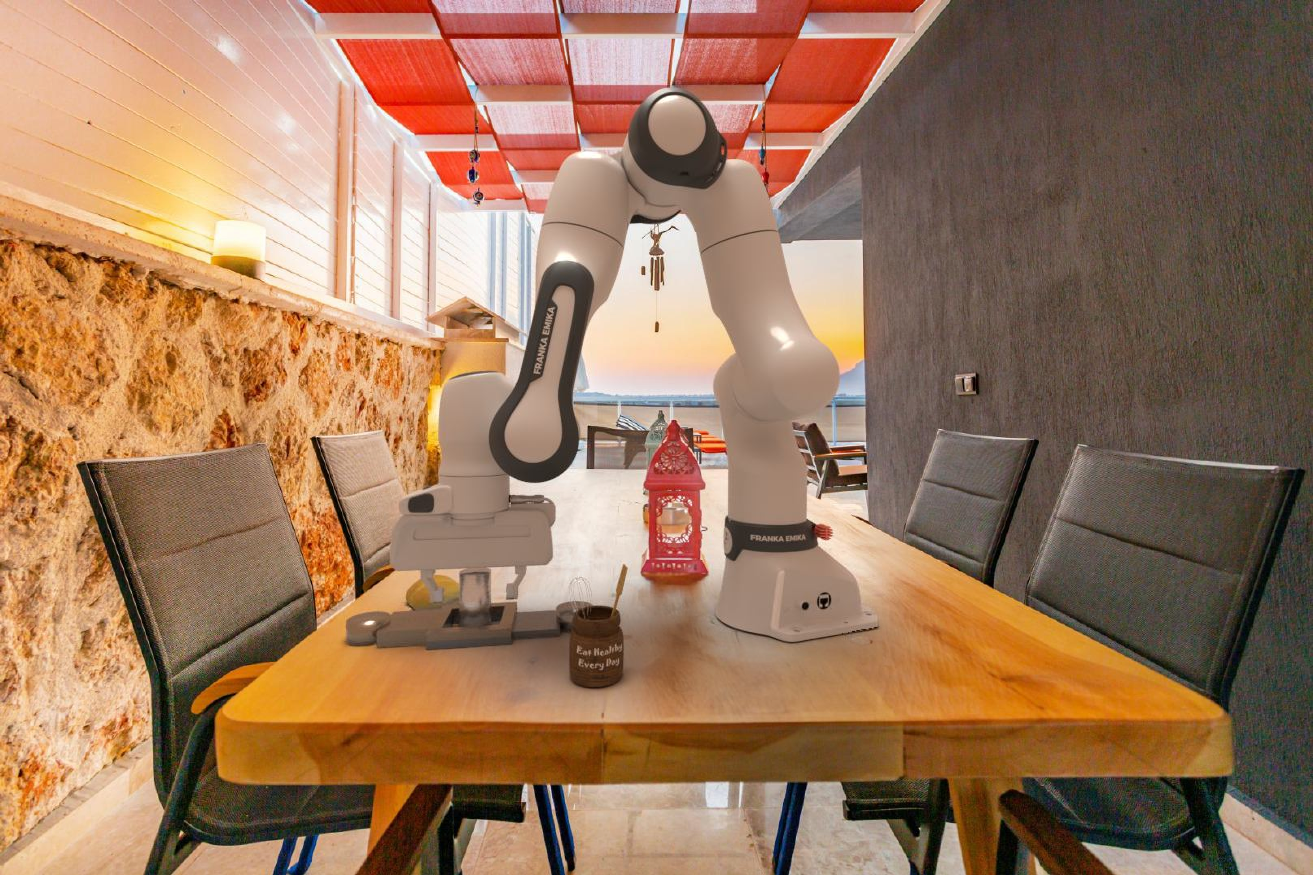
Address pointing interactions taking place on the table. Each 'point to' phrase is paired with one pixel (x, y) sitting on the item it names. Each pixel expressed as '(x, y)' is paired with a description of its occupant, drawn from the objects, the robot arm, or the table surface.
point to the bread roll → (421, 595)
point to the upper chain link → (423, 626)
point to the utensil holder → (597, 642)
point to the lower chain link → (521, 627)
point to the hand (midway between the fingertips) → (475, 600)
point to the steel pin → (475, 597)
